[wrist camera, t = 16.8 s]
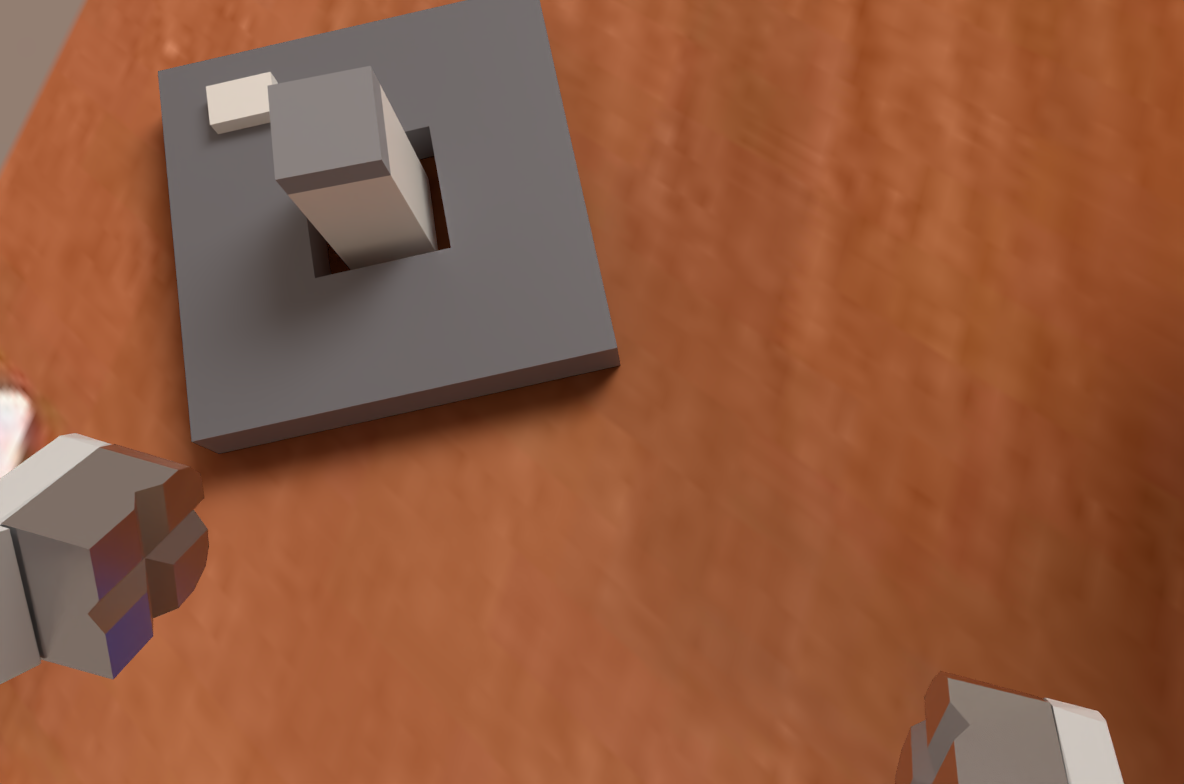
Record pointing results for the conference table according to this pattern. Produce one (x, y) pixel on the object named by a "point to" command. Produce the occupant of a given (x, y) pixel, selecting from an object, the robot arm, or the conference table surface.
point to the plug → (351, 167)
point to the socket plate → (396, 288)
